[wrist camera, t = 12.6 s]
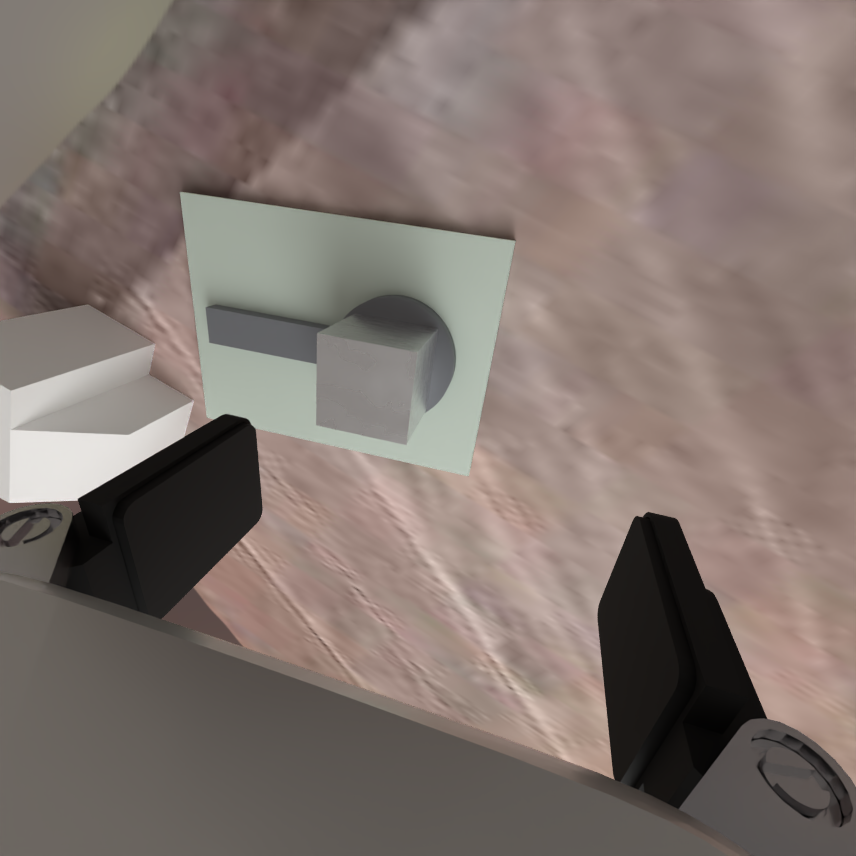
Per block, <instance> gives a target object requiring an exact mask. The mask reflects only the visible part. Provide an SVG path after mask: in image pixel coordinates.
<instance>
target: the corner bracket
mask: <svg viewBox="0 0 856 856" xmlns="http://www.w3.org/2000/svg"><path fill="white" fill-rule="evenodd" d="M154 348H155V343H153V342H151V341H150V340H148V339H146V338H145V337H143V336H141V335H140V334H138V333H136V332H134V331H133V330H131V329H129V328H128V327H126V326H124V325H122V324H121V323H119V322H117V321H116V320H114V319H112V318H110V317H109V316H107V315H105V314H104V313H102V312H100V311H99V310H97V309H95V308H93V307H92V306H90V305H88V304H87V305H82V306H77V307H72V308H66V309H61V310H56V311H50V312H45V313H40V314H34V315H29V316H24V317H18V318H13V319H8V320H2V321H0V498H2V499H3V500H5V501H7V502H9V503H17V502H18V503H19V502H45V501H46V502H47V501H74V500H78V498H80V497H82V496H83V495H85V494H87V493H88V492H90V491H92V490H94V489H95V488H97V487H99V486H101V485H102V484H104V483H106V482H107V481H109V480H111V479H113V478H114V477H116V476H118V475H120V474H121V473H123V472H125V471H126V470H128V469H130V468H132V467H133V466H135V465H137V464H138V463H140V462H142V461H144V460H145V459H147V458H149V457H151V456H152V455H154V454H156V453H157V452H159V451H161V450H163V449H164V448H166V447H168V446H169V445H171V444H173V443H175V442H176V441H178V440H180V439H182V438H183V437H184V436H185V432H186V428H187V425H188V421H189V417H190V413H191V410H192V406H193V402H194V400H192V399H191V398H189V397H187V396H185V395H184V394H182V393H180V392H179V391H177V390H175V389H173V388H172V387H170V386H168V385H167V384H165V383H163V382H161V381H160V380H158V379H156V378H155V377H153V376H151V375H149V373H150V368H151V363H152V358H153V353H154Z"/></svg>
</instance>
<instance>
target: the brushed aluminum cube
mask: <svg viewBox="0 0 856 856" xmlns="http://www.w3.org/2000/svg"><path fill="white" fill-rule="evenodd" d="M437 334H438V329H437V328H432V327H426V326H421V325H415V324H410V323H404V322H399V321H393V320H388V319H382V318H377V317H371V316H366V315H360V314H353V315H351V316H349V317H347V318H345V319H343V320H341V321H339V322H337V323H335V324H334V325H332V326H330V327H328V328H326V329H324V330H322V331H320V332H318V333H317V377H316V425H317V426H322V427H326V428H331V429H335V430H340V431H344V432H349V433H353V434H358V435H362V436H367V437H371V438H376V439H380V440H385V441H389V442H394V443H398V444H403V445H407V443H408V441H409V440H410V438H411V436H412V434H413V433H414V431H415V429H416V427H417V425H418V424H419V422H420V420H421V418H422V417H423V415H424V413H425V411H426V410H427V406H428V399H429V391H430V384H431V377H432V370H433V362H434V355H435V348H436V341H437Z"/></svg>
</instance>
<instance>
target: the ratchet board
mask: <svg viewBox="0 0 856 856" xmlns="http://www.w3.org/2000/svg"><path fill="white" fill-rule="evenodd" d="M180 197H181V206H182V214H183V222H184V231H185V239H186V247H187V256H188V264H189V272H190V281H191V289H192V297H193V306H194V314H195V322H196V331H197V339H198V347H199V356H200V364H201V372H202V381H203V389H204V397H205V406H206V414H207V418H211V419H216V418H218V417H219V416H221V415H224V414H230V415H234V416H239V417H243V418H247V419H248V420H249V421H250V422H251V425H252V426H254V428H256V429H260V430H264V431H269V432H273V433H278V434H282V435H287V436H291V437H296V438H300V439H305V440H309V441H313V442H318V443H322V444H327V445H331V446H336V447H340V448H345V449H349V450H354V451H358V452H362V453H367V454H371V455H376V456H380V457H385V458H389V459H394V460H398V461H403V462H407V463H411V464H416V465H420V466H425V467H429V468H434V469H438V470H443V471H447V472H452V473H456V474H460V475H465V476H469V472H470V468H471V463H472V458H473V453H474V448H475V443H476V438H477V433H478V428H479V423H480V418H481V413H482V408H483V403H484V398H485V392H486V387H487V382H488V377H489V372H490V367H491V362H492V357H493V352H494V347H495V342H496V337H497V332H498V327H499V322H500V317H501V312H502V307H503V302H504V297H505V292H506V287H507V282H508V277H509V272H510V267H511V262H512V257H513V252H514V247H515V242H516V240H509V239H502V238H495V237H489V236H482V235H475V234H468V233H461V232H454V231H448V230H441V229H434V228H427V227H420V226H414V225H407V224H400V223H393V222H386V221H379V220H373V219H366V218H359V217H352V216H345V215H338V214H332V213H325V212H318V211H311V210H304V209H297V208H291V207H284V206H277V205H270V204H263V203H256V202H250V201H243V200H236V199H229V198H222V197H216V196H209V195H202V194H195V193H187V192H180ZM353 314H360V315H366V316H371V317H377V318H382V319H388V320H393V321H399V322H404V323H410V324H415V325H421V326H426V327H432V328H437V329H438V334H437V341H436V348H435V355H434V362H433V370H432V377H431V384H430V391H429V399H428V406H427V410H426V411H425V413H424V415H423V417H422V418H421V420H420V422H419V424H418V425H417V427H416V429H415V431H414V433H413V434H412V436H411V438H410V440H409V441H408V443H407V445H403V444H398V443H394V442H389V441H385V440H380V439H376V438H371V437H367V436H362V435H358V434H353V433H349V432H344V431H340V430H335V429H331V428H326V427H322V426H317V425H316V377H317V333H318V332H320V331H322V330H324V329H326V328H328V327H330V326H332V325H334V324H335V323H337V322H339V321H341V320H343V319H345V318H347V317H349V316H351V315H353Z"/></svg>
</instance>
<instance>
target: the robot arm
mask: <svg viewBox="0 0 856 856" xmlns="http://www.w3.org/2000/svg"><path fill="white" fill-rule="evenodd" d="M78 502H79V505H80V508H81V512H79V513H77V514H76V515H74V516H73V513H72V512H71V510H70V509H69V508H68V507H66V506H63V505H61V504H52V503H46V504H35V505H31V506H26V507H21V508H18V509H15V510H12V511H9V512H7V513H4V514H3V515H0V856H856V787H855V785H854V783H853V782H852V780H851V778H850V777H849V776H848V775H847V774H846V772H845V771H844V770H843V769H842V768H841V766H840V765H839V764H838V763H837V762H836V761H835V759H833V758H832V757H831V756H830V755H829V754H828V753H827V752H826V751H825V750H824V749H822V748H821V747H820V746H819V745H818V744H817V743H815V742H814V741H813V740H811V739H810V738H808V737H807V736H805V735H804V734H802V733H801V732H799V731H798V730H796V729H794V728H791V727H789V726H787V725H785V724H783V723H781V722H778V721H773V720H769V719H767V717H766V715H765V712H764V710H763V708H762V705H761V703H760V701H759V698H758V696H757V693H756V691H755V689H754V686H753V684H752V682H751V679H750V677H749V674H748V672H747V670H746V667H745V665H744V663H743V660H742V658H741V655H740V653H739V651H738V648H737V646H736V643H735V641H734V639H733V636H732V634H731V632H730V629H729V627H728V624H727V622H726V620H725V617H724V615H723V613H722V610H721V608H720V605H719V603H718V601H717V599H716V597H715V595H714V594H713V593H712V592H711V591H709V590H707V589H705V586H704V584H703V581H702V579H701V576H700V574H699V571H698V569H697V566H696V564H695V561H694V559H693V556H692V554H691V551H690V549H689V546H688V544H687V541H686V539H685V536H684V534H683V531H682V529H681V526H680V524H679V522H678V520H677V519H675V518H672V517H668V516H663V515H659V514H655V513H650V512H647V513H646V514H645V515H644V516H643V517H639V516H636V517H635V518H634V520H633V522H632V524H631V527H630V529H629V531H628V534H627V536H626V539H625V541H624V544H623V546H622V549H621V551H620V554H619V556H618V559H617V561H616V563H615V566H614V568H613V571H612V573H611V576H610V578H609V581H608V583H607V586H606V588H605V591H604V593H603V595H602V598H601V600H600V603H599V608H598V627H599V637H600V647H601V657H602V667H603V677H604V687H605V697H606V707H607V717H608V727H609V737H610V747H611V757H612V767H613V775H614V779H615V780H614V779H611V778H609V777H606V776H604V775H602V774H599V773H597V772H594V771H592V770H589V769H586V768H584V767H581V766H578V765H575V764H573V763H570V762H567V761H565V760H562V759H559V758H557V757H554V756H551V755H548V754H546V753H543V752H540V751H538V750H535V749H532V748H530V747H527V746H524V745H521V744H519V743H516V742H513V741H511V740H508V739H505V738H503V737H500V736H497V735H494V734H491V733H488V732H486V731H483V730H480V729H477V728H474V727H471V726H468V725H466V724H463V723H460V722H457V721H454V720H451V719H449V718H446V717H443V716H440V715H437V714H434V713H432V712H429V711H426V710H423V709H420V708H417V707H414V706H412V705H409V704H406V703H403V702H400V701H397V700H395V699H392V698H389V697H386V696H383V695H380V694H377V693H375V692H372V691H369V690H366V689H363V688H360V687H357V686H355V685H352V684H349V683H346V682H343V681H340V680H337V679H334V678H331V677H329V676H326V675H323V674H320V673H317V672H314V671H311V670H308V669H305V668H303V667H300V666H297V665H294V664H291V663H288V662H285V661H282V660H279V659H276V658H274V657H271V656H268V655H265V654H262V653H259V652H256V651H253V650H250V649H247V648H244V647H242V646H238V645H236V644H233V643H230V642H227V641H224V640H221V639H218V638H215V637H212V636H209V635H206V634H203V633H201V632H197V631H195V630H192V629H188V628H186V627H183V626H180V625H177V624H174V623H171V622H167V621H165V620H162V618H163V617H164V616H165V615H166V614H167V613H168V612H169V611H170V610H171V609H172V608H173V607H174V606H175V605H176V604H177V603H178V602H179V601H180V600H181V599H182V598H183V597H184V596H185V595H186V594H187V593H188V592H189V591H190V590H191V589H192V588H193V587H194V586H195V585H196V584H197V583H198V582H199V581H200V580H201V579H202V578H203V577H204V576H205V575H206V574H207V573H208V572H209V571H210V570H211V569H212V568H213V567H214V566H215V565H216V564H217V563H218V562H219V561H220V560H221V559H222V558H223V557H224V556H225V555H226V554H227V553H228V552H229V551H230V550H231V549H232V548H233V547H234V546H235V545H236V544H237V543H238V542H239V541H240V540H241V539H242V538H243V537H244V536H245V535H246V534H247V533H248V532H249V530H250V529H251V528H252V527H253V526H254V525H255V524H256V523H257V522H258V521H259V519H260V517H261V515H262V497H261V485H260V474H259V462H258V450H257V439H256V430H255V428H254V426H252V425H251V422H250V421H249V420H248V419H247V418H243V417H239V416H234V415H230V414H224V415H221V416H219V417H218V418H216V419H214V420H213V421H211V422H209V423H207V424H206V425H204V426H202V427H201V428H199V429H197V430H195V431H194V432H192V433H190V434H188V435H187V436H185V437H183V438H182V439H180V440H178V441H176V442H175V443H173V444H171V445H169V446H168V447H166V448H164V449H163V450H161V451H159V452H157V453H156V454H154V455H152V456H151V457H149V458H147V459H145V460H144V461H142V462H140V463H138V464H137V465H135V466H133V467H132V468H130V469H128V470H126V471H125V472H123V473H121V474H120V475H118V476H116V477H114V478H113V479H111V480H109V481H107V482H106V483H104V484H102V485H101V486H99V487H97V488H95V489H94V490H92V491H90V492H88V493H87V494H85V495H83V496H82V497H80V498H78Z"/></svg>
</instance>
